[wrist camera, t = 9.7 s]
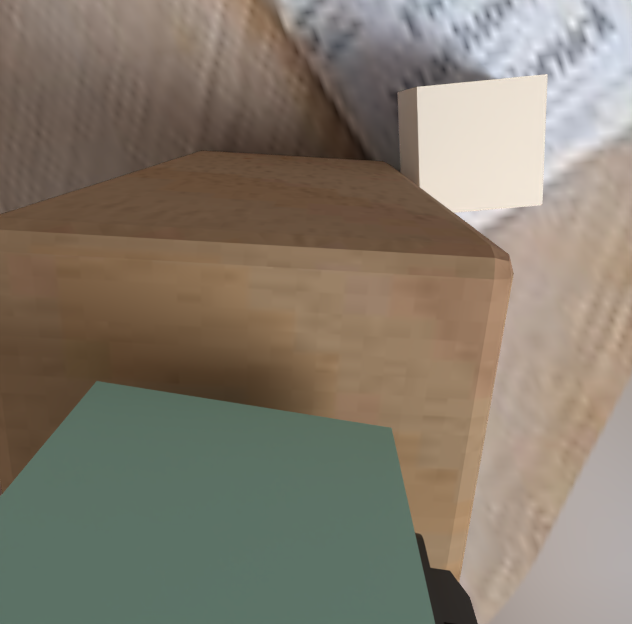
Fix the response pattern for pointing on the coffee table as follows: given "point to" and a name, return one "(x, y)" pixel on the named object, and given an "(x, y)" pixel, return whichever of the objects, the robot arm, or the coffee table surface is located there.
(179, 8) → the coffee table surface
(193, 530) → the teal block
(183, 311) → the wooden block
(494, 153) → the cream block
